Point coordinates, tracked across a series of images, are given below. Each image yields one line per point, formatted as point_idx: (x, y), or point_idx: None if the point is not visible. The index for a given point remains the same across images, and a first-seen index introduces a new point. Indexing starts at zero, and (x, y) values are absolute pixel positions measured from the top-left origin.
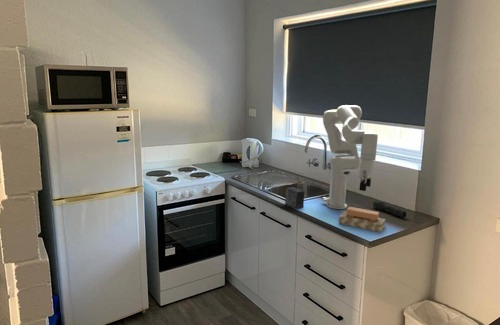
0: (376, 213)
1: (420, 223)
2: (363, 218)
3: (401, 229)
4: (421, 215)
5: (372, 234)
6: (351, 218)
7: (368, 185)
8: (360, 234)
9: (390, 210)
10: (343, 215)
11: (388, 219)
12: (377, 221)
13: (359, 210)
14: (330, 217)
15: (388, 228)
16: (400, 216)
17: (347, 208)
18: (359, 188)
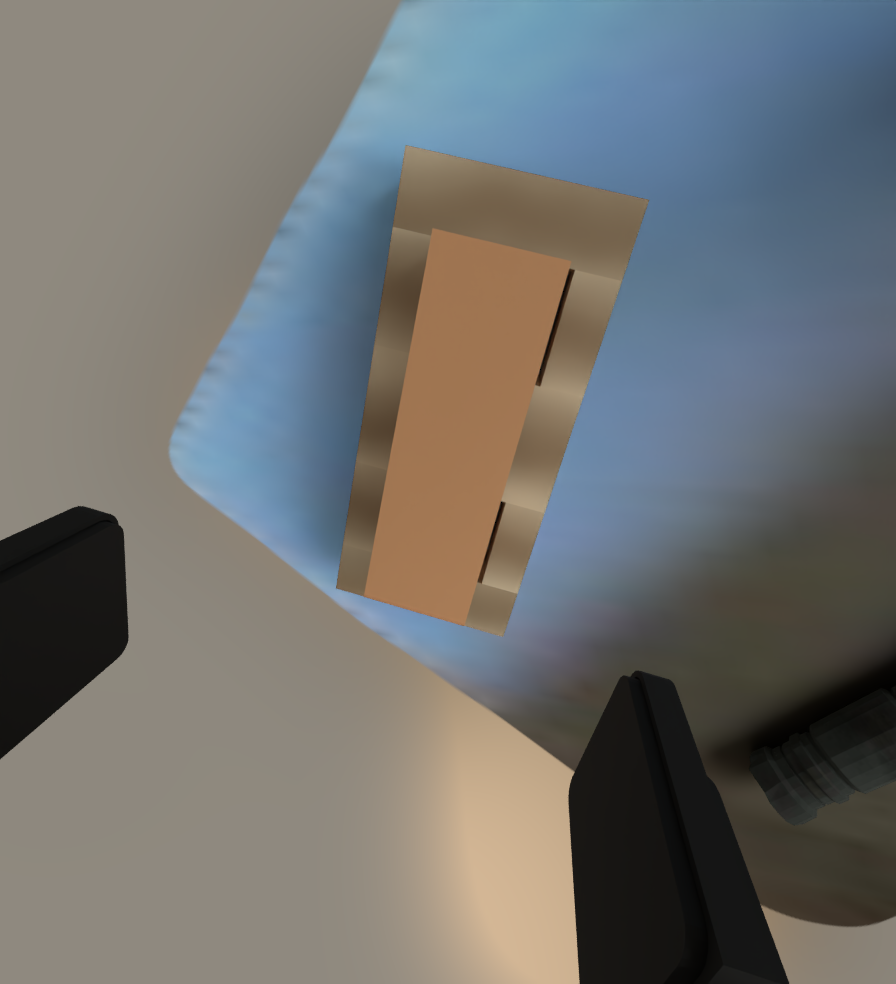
0: (406, 594)
1: None
2: None
3: (479, 695)
4: (862, 882)
5: (286, 494)
6: (388, 314)
7: (583, 786)
8: (239, 403)
9: (878, 712)
10: (460, 202)
11: (696, 648)
12: None
13: (437, 414)
14: (606, 19)
15: None
16: (758, 750)
17: (463, 239)
18: (51, 519)
